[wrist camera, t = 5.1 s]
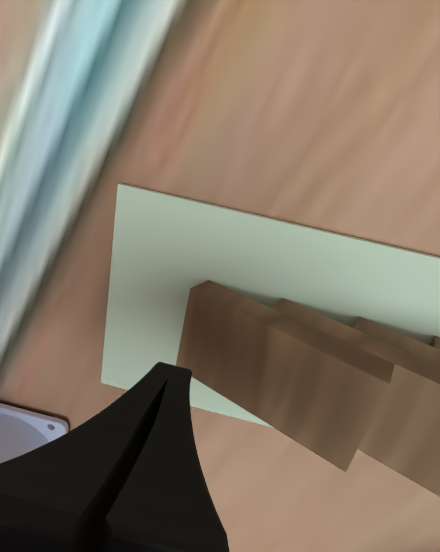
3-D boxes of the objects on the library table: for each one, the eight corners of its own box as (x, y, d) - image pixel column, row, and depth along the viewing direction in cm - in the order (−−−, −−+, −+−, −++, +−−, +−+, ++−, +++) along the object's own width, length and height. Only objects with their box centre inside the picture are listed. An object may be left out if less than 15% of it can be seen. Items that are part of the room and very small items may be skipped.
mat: (103, 378, 21) (100, 382, 21) (121, 183, 16) (117, 183, 16) (563, 497, 20) (569, 504, 19) (720, 322, 15) (731, 326, 15)
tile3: (321, 403, 17) (537, 522, 14) (353, 327, 16) (612, 439, 12) (329, 388, 19) (528, 492, 15) (359, 316, 17) (594, 413, 13)
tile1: (175, 366, 18) (346, 472, 14) (190, 288, 16) (390, 384, 12) (193, 353, 19) (353, 446, 15) (208, 279, 17) (394, 364, 13)
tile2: (247, 385, 18) (440, 496, 14) (270, 307, 16) (498, 410, 12) (260, 370, 19) (439, 469, 15) (282, 298, 17) (492, 388, 13)
